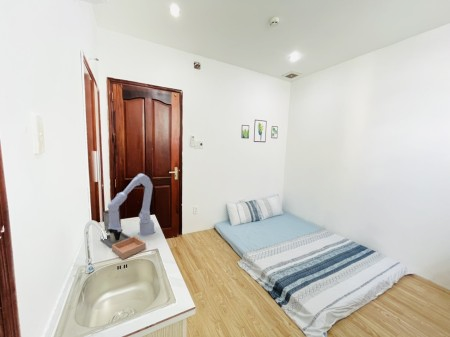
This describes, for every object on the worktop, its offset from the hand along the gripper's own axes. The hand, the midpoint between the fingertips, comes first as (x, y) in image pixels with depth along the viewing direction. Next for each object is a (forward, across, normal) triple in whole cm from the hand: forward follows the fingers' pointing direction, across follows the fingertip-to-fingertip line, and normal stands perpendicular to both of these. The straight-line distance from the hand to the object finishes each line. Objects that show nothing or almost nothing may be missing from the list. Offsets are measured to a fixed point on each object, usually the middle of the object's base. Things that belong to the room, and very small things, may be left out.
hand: (115, 238), depth 128 cm
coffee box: (+2, -18, +6) cm, 19 cm away
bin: (+2, +18, 0) cm, 18 cm away
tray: (+2, 0, 0) cm, 2 cm away
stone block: (+1, 0, 0) cm, 1 cm away
